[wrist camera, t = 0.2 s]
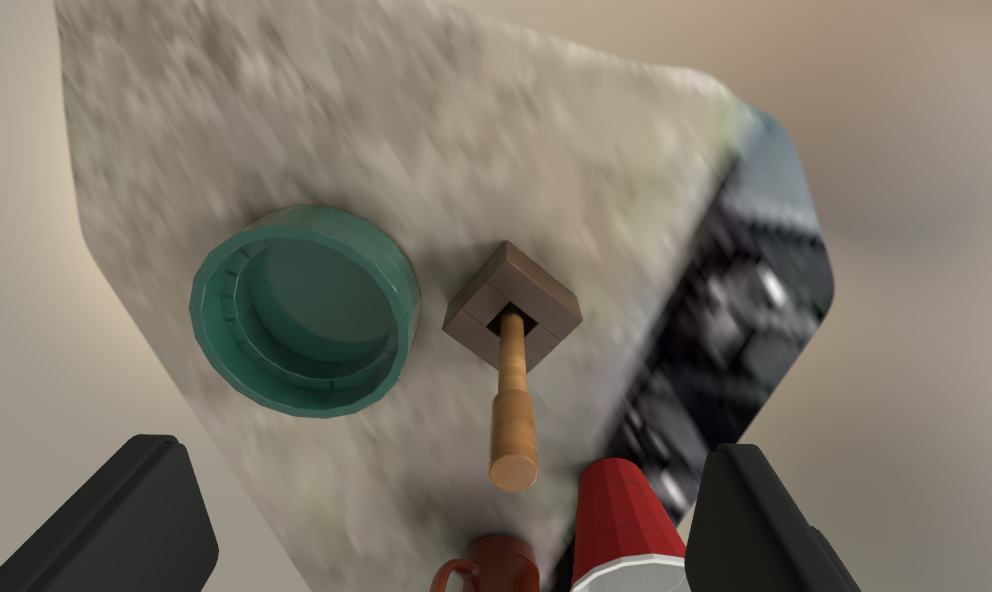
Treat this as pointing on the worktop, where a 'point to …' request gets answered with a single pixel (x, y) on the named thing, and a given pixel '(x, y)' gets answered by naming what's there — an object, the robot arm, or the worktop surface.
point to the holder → (526, 287)
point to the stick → (512, 411)
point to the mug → (492, 567)
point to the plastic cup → (624, 534)
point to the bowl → (307, 311)
